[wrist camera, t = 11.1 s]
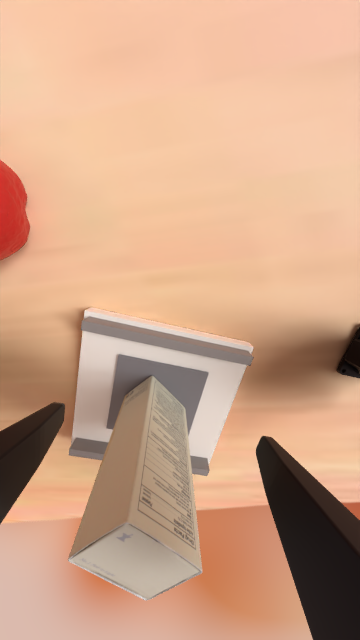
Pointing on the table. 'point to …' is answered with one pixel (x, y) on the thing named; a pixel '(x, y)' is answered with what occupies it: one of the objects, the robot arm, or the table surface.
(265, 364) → the table surface
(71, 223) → the table surface
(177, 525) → the skincare box
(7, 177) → the pomegranate
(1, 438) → the robot arm
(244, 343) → the stand
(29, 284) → the table surface
